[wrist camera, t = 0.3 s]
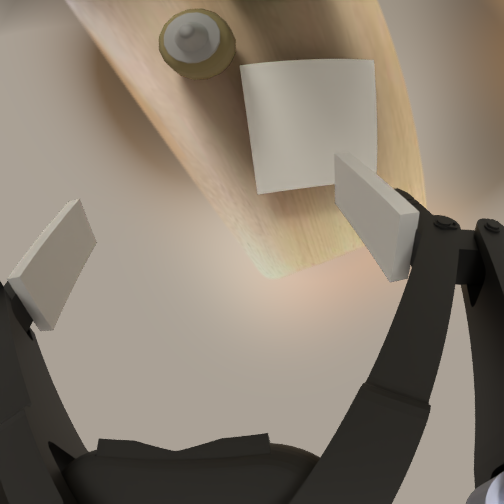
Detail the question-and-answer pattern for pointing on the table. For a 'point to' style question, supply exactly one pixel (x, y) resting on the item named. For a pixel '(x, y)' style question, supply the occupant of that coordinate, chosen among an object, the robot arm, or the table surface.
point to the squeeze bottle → (197, 44)
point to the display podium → (308, 119)
